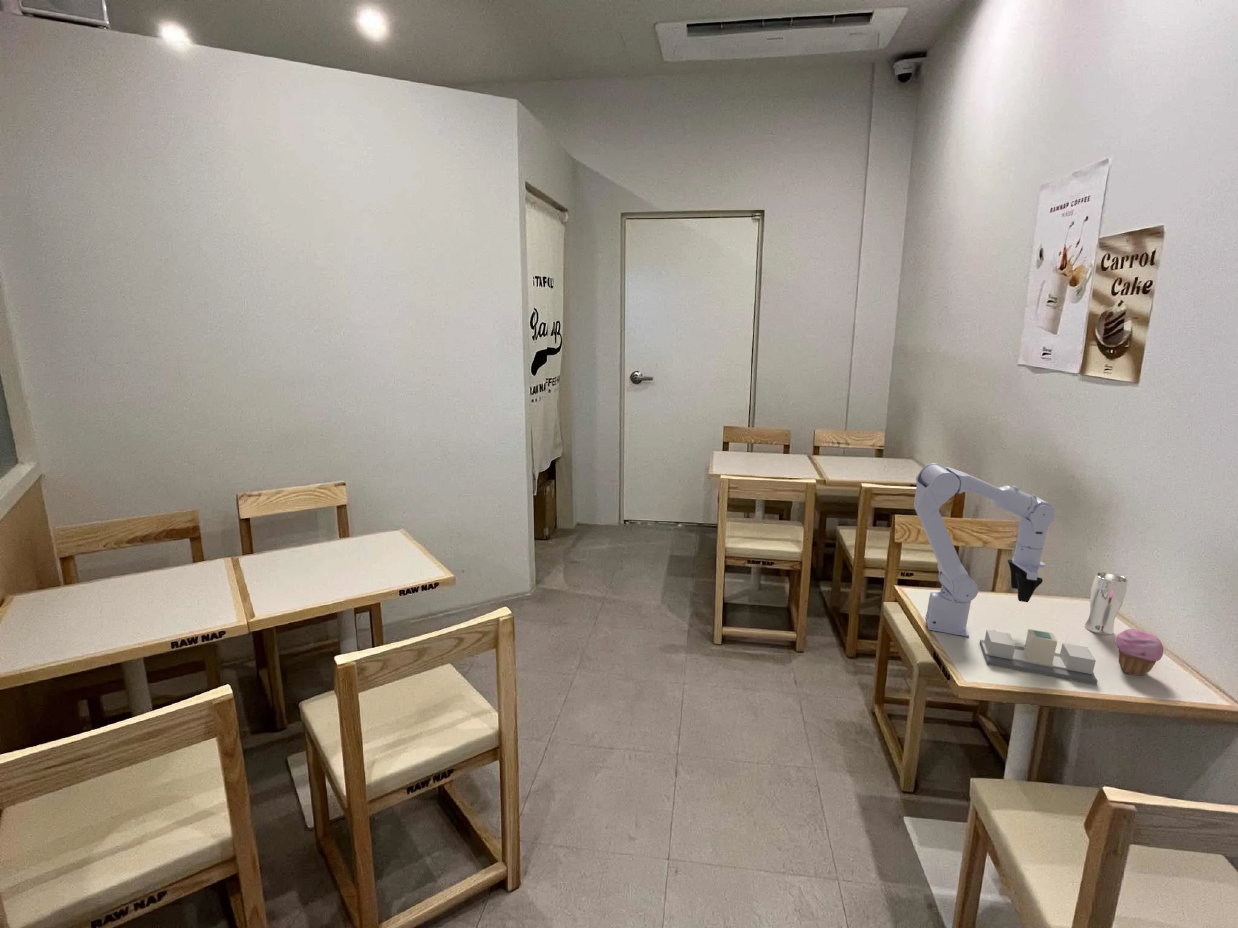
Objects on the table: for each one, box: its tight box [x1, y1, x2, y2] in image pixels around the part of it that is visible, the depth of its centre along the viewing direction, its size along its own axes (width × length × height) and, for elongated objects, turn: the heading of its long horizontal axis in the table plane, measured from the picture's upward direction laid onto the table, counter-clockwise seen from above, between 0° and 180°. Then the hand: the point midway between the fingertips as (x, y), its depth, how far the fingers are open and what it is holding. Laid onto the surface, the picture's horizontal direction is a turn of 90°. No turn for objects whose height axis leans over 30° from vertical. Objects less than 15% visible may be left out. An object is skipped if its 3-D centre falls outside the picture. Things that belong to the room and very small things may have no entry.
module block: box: [1023, 628, 1058, 664], centre depth 152 cm, size 5×4×6 cm
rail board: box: [979, 629, 1099, 686], centre depth 153 cm, size 22×10×5 cm, turn 70°
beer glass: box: [1084, 571, 1129, 636], centre depth 168 cm, size 7×7×15 cm
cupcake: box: [1114, 628, 1164, 676], centre depth 150 cm, size 9×9×10 cm
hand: (1019, 594), depth 165 cm, fingers open, 7 cm apart
